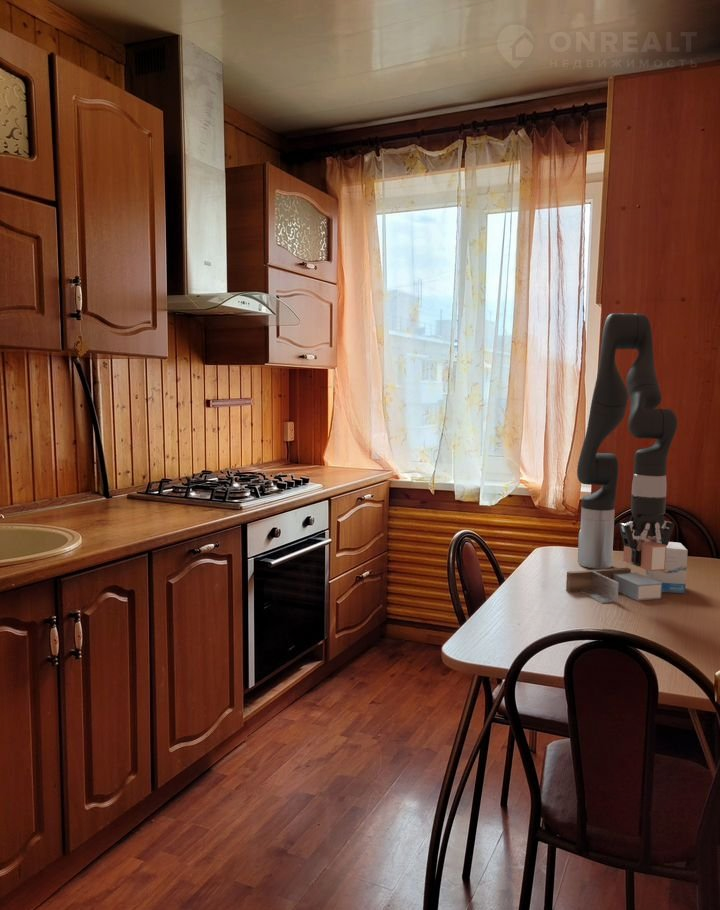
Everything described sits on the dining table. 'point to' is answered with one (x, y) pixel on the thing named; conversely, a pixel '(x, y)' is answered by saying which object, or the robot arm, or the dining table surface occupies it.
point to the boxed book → (649, 555)
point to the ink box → (672, 569)
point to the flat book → (638, 586)
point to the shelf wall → (589, 578)
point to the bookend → (602, 589)
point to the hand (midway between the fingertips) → (644, 564)
